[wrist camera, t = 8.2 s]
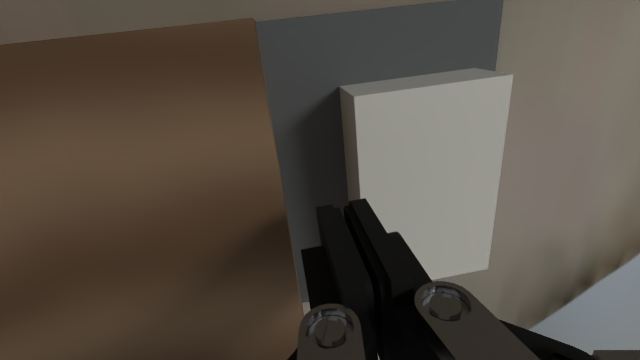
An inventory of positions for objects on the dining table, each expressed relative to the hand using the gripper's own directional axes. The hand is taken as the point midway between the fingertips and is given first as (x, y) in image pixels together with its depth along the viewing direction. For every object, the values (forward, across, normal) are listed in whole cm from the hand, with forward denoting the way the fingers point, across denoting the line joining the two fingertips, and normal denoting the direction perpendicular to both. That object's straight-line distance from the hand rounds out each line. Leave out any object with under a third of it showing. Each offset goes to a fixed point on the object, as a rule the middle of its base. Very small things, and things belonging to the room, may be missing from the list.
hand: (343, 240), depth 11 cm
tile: (+2, -4, 0) cm, 5 cm away
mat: (+5, -3, 0) cm, 6 cm away
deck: (+5, +8, 0) cm, 10 cm away
